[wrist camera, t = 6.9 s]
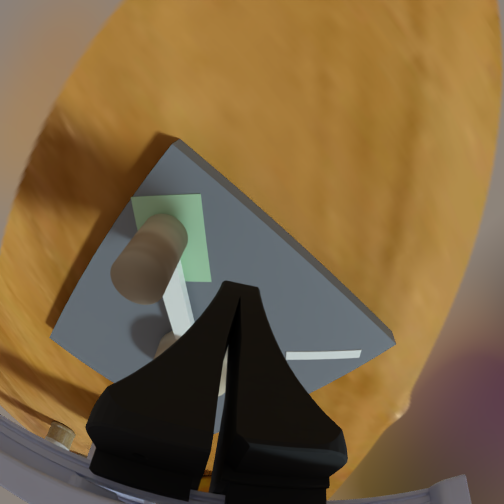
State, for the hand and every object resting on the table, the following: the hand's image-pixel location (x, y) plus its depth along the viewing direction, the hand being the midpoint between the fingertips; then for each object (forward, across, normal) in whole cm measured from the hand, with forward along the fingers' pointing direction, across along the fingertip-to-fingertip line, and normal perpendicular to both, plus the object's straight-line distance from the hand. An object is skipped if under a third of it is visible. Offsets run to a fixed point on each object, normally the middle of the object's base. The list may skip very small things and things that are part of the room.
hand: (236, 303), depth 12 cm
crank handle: (+4, +3, +5) cm, 7 cm away
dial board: (+6, +2, +9) cm, 11 cm away
